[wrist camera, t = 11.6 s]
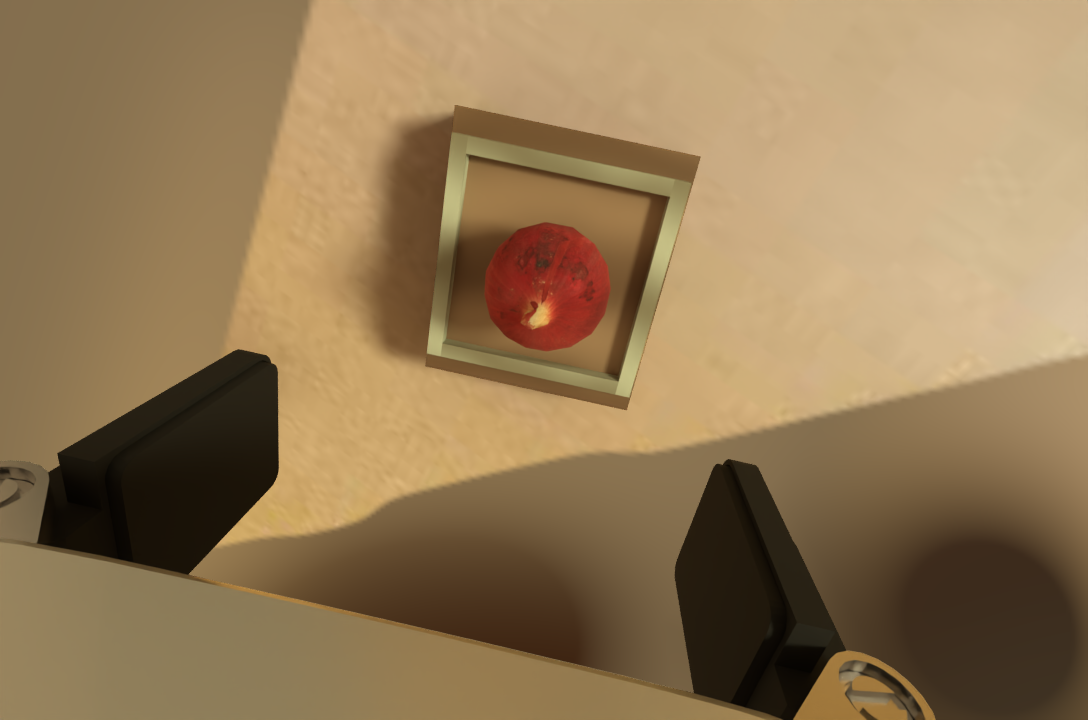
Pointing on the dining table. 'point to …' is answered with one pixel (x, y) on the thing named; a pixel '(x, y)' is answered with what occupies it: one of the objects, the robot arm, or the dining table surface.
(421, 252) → the dining table surface
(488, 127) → the plinth
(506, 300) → the onion
